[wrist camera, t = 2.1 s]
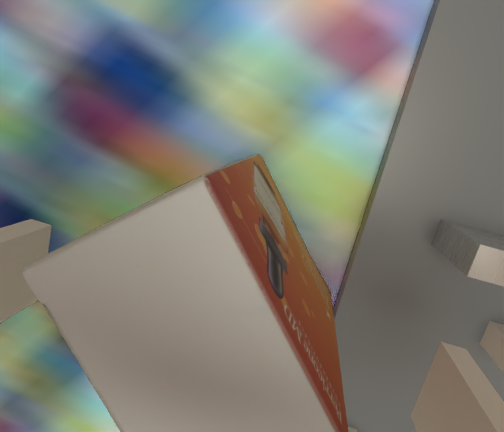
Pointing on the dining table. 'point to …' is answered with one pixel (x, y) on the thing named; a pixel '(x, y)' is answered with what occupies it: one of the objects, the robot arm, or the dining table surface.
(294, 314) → the small box
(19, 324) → the dining table surface
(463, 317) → the board
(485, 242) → the end holder
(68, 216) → the dining table surface
